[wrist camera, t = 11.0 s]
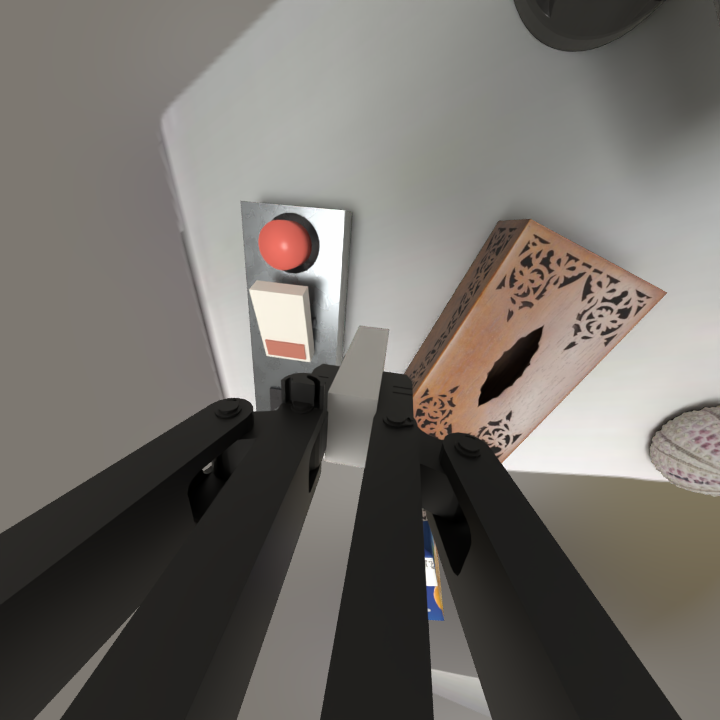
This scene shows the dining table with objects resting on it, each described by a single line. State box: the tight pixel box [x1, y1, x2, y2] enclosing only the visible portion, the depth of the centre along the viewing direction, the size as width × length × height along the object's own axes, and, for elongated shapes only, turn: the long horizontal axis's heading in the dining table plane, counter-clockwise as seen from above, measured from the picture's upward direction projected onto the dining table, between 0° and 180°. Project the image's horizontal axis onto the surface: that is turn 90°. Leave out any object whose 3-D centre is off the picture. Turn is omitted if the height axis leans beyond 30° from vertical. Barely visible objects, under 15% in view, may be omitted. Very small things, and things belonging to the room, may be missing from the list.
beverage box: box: [422, 508, 444, 621], centre depth 40 cm, size 7×11×22 cm, turn 12°
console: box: [241, 201, 352, 411], centre depth 41 cm, size 32×12×6 cm, turn 175°
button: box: [258, 220, 312, 270], centre depth 32 cm, size 5×5×3 cm
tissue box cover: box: [404, 219, 667, 463], centre depth 36 cm, size 26×14×10 cm, turn 155°
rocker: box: [249, 280, 315, 362], centre depth 35 cm, size 10×6×2 cm, turn 174°
